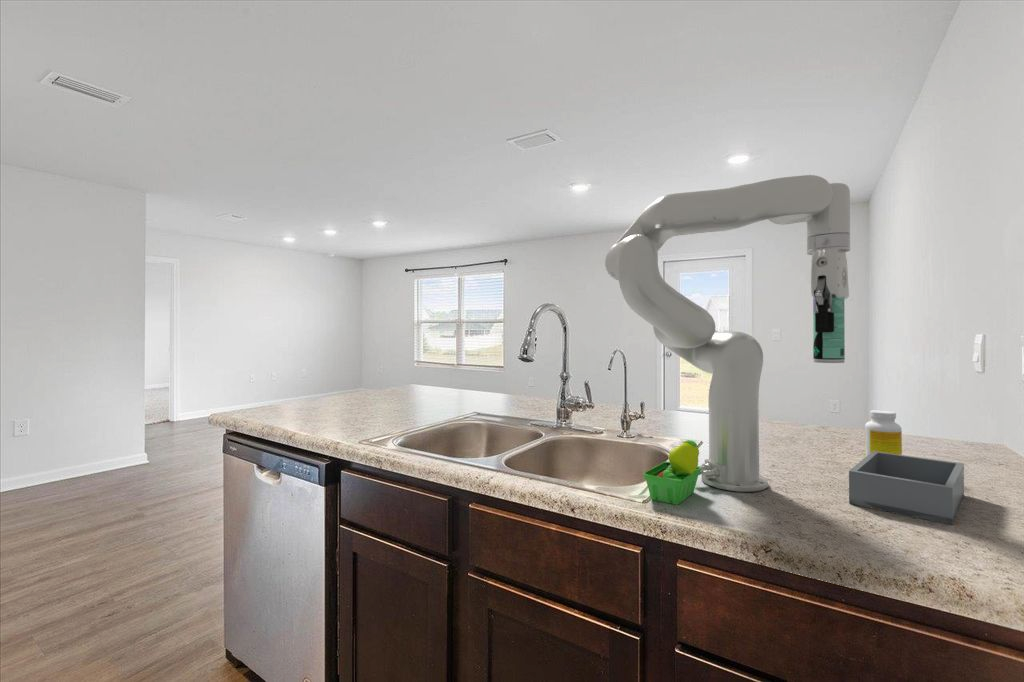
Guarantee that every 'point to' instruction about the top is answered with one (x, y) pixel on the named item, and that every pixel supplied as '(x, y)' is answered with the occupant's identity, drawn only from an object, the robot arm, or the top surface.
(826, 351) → the spray can
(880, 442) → the supplement bottle
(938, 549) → the top surface
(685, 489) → the fruit basket
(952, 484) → the bin
